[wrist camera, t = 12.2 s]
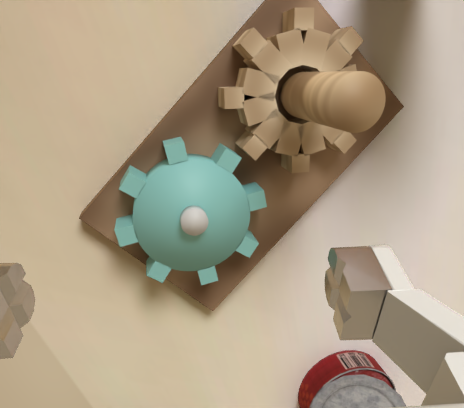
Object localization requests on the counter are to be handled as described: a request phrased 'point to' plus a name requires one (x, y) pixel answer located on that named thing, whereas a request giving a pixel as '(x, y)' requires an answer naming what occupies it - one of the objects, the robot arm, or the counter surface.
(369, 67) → the gear board
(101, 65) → the counter surface
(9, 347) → the robot arm
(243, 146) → the loose gear
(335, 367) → the canned food
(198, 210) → the gear
